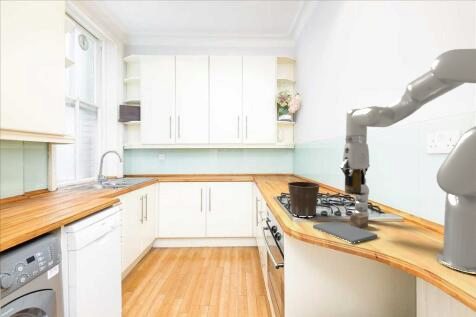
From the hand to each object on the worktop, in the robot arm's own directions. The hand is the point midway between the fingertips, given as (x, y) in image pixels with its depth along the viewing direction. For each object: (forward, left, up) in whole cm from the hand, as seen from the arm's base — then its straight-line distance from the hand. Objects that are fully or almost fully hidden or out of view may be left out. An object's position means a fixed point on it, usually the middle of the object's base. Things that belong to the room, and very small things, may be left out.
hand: (354, 184), depth 101 cm
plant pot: (+29, +1, -20) cm, 36 cm away
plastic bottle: (+9, -16, -20) cm, 28 cm away
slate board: (+2, +4, -20) cm, 20 cm away
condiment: (0, 0, -4) cm, 4 cm away
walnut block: (+4, -8, -20) cm, 22 cm away
